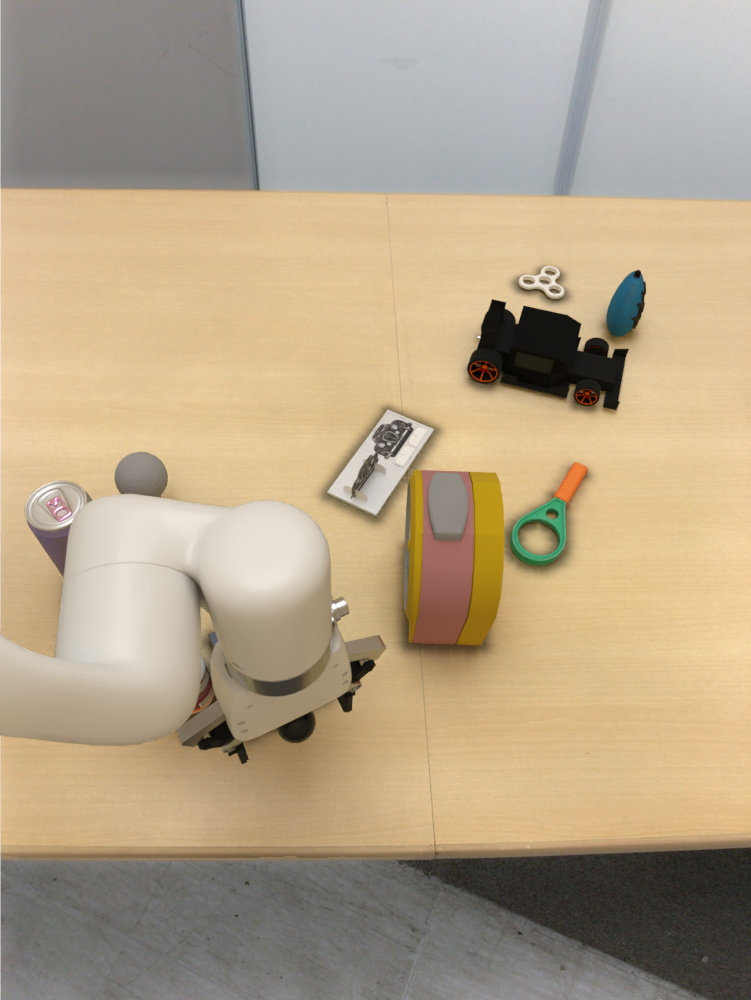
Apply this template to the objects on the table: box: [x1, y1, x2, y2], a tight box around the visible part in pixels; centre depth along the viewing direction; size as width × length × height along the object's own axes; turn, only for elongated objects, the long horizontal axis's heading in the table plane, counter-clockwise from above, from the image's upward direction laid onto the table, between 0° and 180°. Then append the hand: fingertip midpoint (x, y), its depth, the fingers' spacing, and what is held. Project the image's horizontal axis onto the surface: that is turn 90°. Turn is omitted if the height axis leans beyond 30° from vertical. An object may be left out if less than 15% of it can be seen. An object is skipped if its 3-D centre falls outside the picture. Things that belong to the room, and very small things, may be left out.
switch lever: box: [275, 710, 317, 744], centre depth 66 cm, size 13×4×4 cm
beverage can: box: [24, 479, 93, 579], centre depth 74 cm, size 6×6×15 cm
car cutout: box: [326, 409, 435, 518], centre depth 89 cm, size 15×7×4 cm, turn 151°
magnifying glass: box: [509, 461, 589, 567], centre depth 86 cm, size 15×6×2 cm, turn 148°
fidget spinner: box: [518, 265, 565, 300], centre depth 110 cm, size 7×6×1 cm
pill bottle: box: [191, 653, 215, 715], centre depth 70 cm, size 5×5×8 cm
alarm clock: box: [403, 469, 505, 646], centre depth 73 cm, size 15×8×18 cm, turn 178°
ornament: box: [605, 269, 647, 338], centre depth 101 cm, size 8×5×10 cm, turn 160°
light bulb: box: [114, 451, 169, 498], centre depth 82 cm, size 6×6×10 cm
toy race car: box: [466, 298, 630, 411], centre depth 97 cm, size 10×20×7 cm, turn 72°
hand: (291, 721), depth 64 cm, fingers open, 9 cm apart
